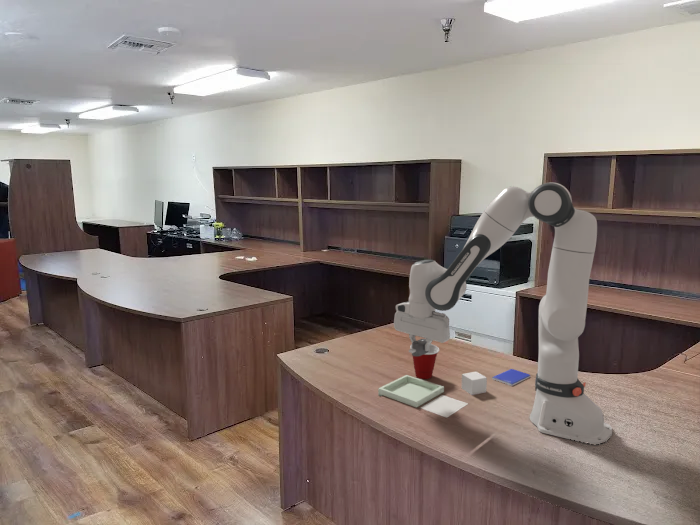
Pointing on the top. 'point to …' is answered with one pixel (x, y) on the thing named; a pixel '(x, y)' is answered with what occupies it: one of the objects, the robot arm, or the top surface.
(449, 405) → the mat
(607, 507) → the top surface
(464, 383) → the white cube
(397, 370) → the top surface
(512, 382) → the hard drive
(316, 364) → the top surface
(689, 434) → the top surface
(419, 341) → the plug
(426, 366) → the plastic cup
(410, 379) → the tray
